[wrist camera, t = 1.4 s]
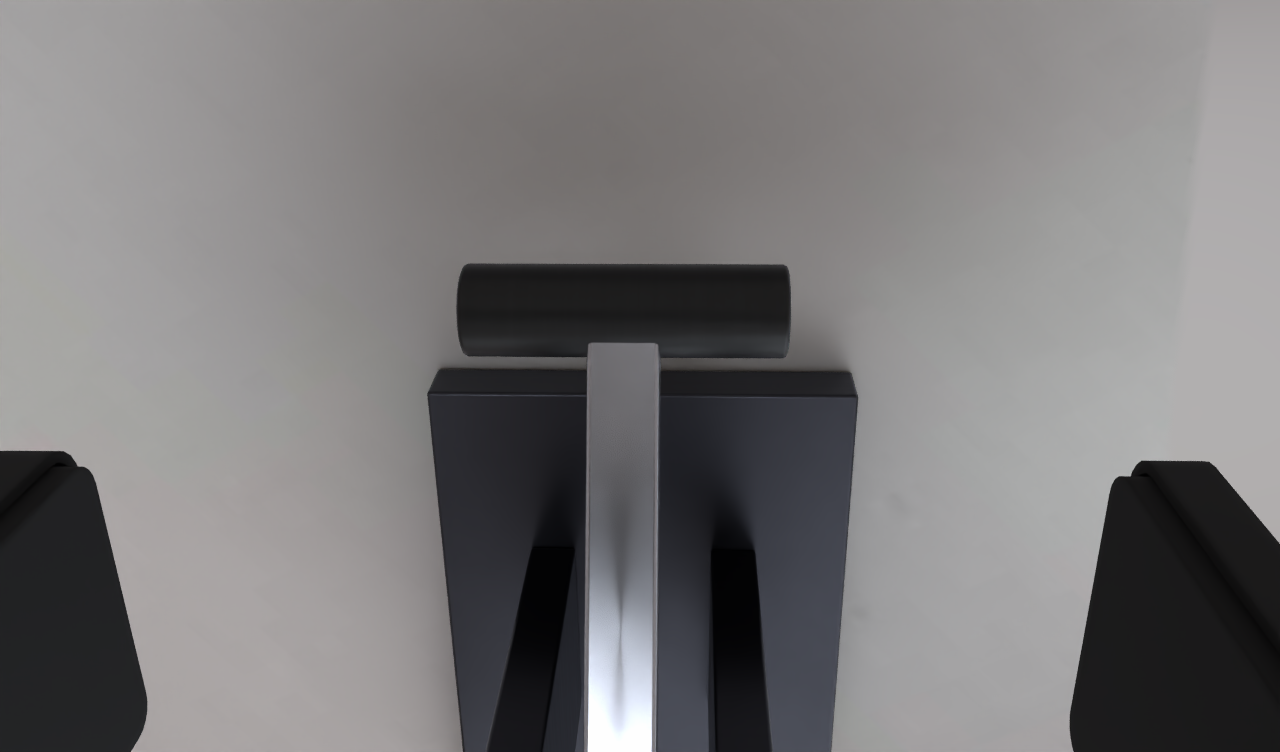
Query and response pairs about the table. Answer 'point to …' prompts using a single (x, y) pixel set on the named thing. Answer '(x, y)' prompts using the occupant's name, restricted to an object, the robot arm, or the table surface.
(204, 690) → the table surface
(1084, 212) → the table surface
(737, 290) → the lever
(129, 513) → the table surface
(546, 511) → the bracket
